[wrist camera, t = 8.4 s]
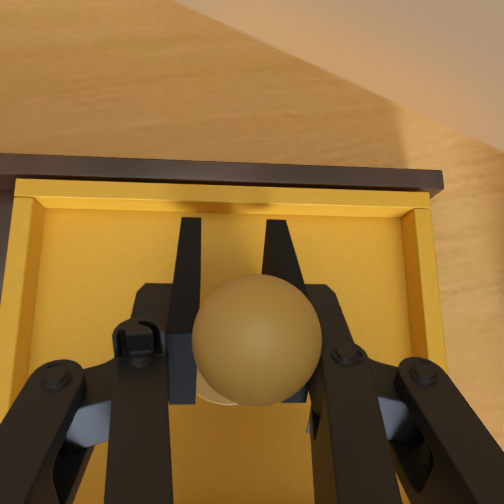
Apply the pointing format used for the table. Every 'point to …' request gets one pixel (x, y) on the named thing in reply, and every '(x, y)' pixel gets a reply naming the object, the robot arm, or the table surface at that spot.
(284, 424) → the tray
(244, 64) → the table surface
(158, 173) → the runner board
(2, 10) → the table surface
